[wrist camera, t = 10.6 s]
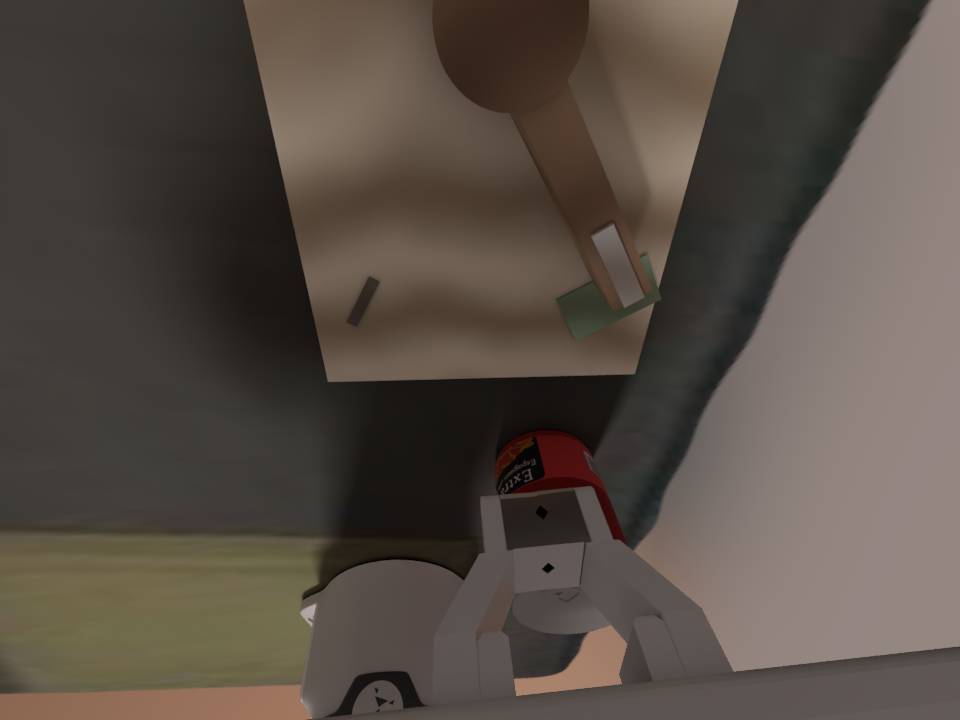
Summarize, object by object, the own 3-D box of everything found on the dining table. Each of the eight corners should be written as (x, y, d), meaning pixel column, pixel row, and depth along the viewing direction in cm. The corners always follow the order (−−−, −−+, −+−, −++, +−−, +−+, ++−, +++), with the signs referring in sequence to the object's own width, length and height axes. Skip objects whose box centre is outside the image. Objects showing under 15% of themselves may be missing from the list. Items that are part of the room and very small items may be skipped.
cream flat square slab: (627, 356, 29) (639, 376, 27) (334, 363, 27) (327, 384, 26) (731, -49, 18) (765, -63, 16) (246, -73, 16) (221, -91, 14)
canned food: (513, 417, 31) (543, 560, 22) (609, 438, 33) (672, 577, 24) (479, 485, 35) (491, 630, 26) (566, 500, 37) (606, 640, 28)
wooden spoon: (407, 2, 16) (399, -13, 13) (525, -96, 15) (546, -137, 12) (569, 299, 23) (587, 331, 20) (657, 250, 22) (689, 277, 19)
